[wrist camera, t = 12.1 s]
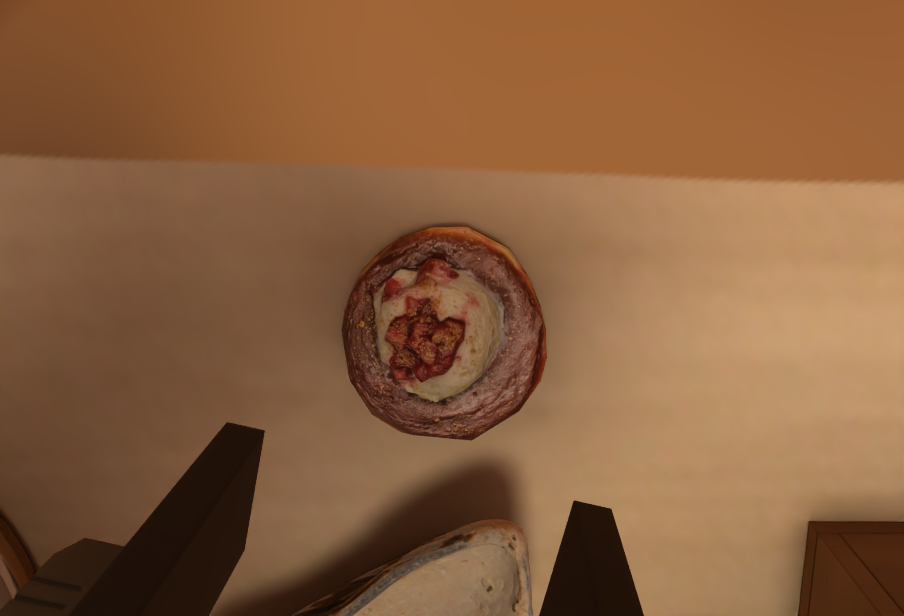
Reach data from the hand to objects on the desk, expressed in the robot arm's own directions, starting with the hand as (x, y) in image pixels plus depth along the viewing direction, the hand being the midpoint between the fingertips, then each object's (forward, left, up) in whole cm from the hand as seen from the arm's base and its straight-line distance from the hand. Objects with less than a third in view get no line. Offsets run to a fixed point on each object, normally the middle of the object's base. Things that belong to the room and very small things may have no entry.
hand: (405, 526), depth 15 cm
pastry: (0, 0, -14) cm, 14 cm away
